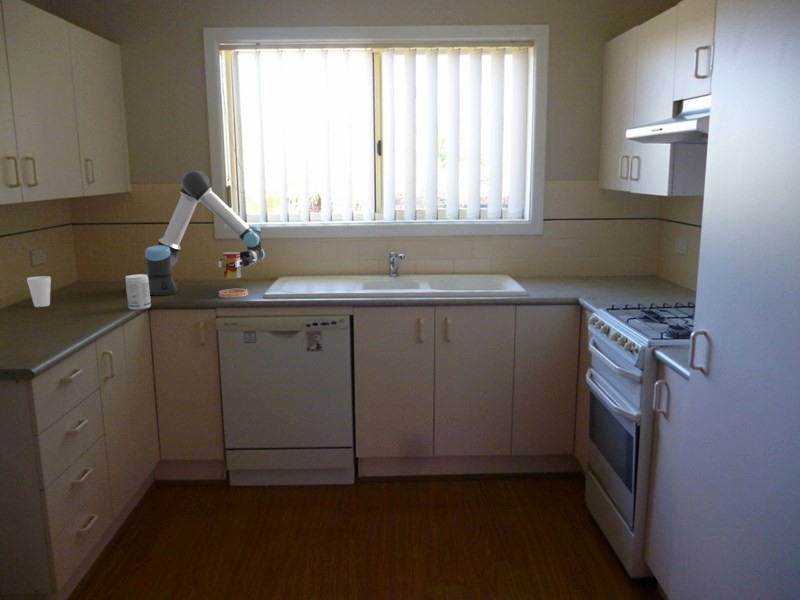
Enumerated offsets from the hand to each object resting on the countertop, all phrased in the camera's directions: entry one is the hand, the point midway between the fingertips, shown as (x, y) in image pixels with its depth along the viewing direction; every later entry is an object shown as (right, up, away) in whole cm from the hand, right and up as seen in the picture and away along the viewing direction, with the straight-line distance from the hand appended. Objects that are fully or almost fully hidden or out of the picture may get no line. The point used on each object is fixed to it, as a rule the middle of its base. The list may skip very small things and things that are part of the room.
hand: (227, 264), depth 315 cm
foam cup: (-82, -20, -12) cm, 86 cm away
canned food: (+1, -6, +6) cm, 9 cm away
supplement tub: (-34, -21, -21) cm, 45 cm away
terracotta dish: (+1, -15, +8) cm, 17 cm away
